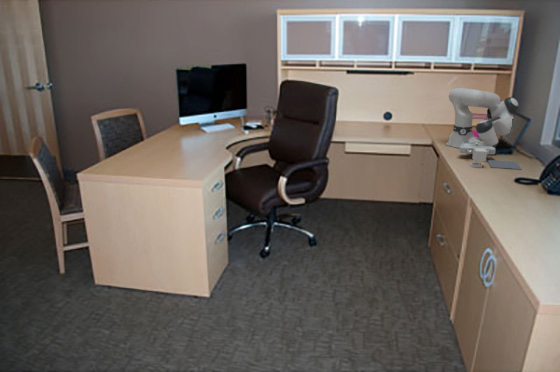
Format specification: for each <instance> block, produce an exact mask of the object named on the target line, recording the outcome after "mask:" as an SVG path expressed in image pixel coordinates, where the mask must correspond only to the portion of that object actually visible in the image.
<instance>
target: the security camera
mask: <svg viewBox="0 0 560 372" xmlns="http://www.w3.org/2000/svg"><path fill="white" fill-rule="evenodd" d="M471 158H472V160H473V161H474V162H470V163H469V164H470V167H471V168H483V165H482V163H481V162H486V161H487V150H486V149H479V148H474V150H473V154H472V157H471Z"/></svg>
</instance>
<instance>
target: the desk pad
mask: <svg viewBox="0 0 560 372" xmlns="http://www.w3.org/2000/svg"><path fill="white" fill-rule="evenodd" d="M486 161H487V163H488V165H489V167H490V168H491V169H503V170H520V171H522V168H521V166H520V164H519V163H518V162H517V161H511V160H494V159H486Z"/></svg>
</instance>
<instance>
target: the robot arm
mask: <svg viewBox="0 0 560 372" xmlns="http://www.w3.org/2000/svg"><path fill="white" fill-rule="evenodd" d="M448 99H449V102H450V103H452V104H451V105H453V108H454V114H455V115H454V117H455V118H454V125H453V127H452V129H453V130H452V132H451V133H450V134H449V136H448V141H447V142H446V144H445V145H446V146H449V147H452V148H457V149H458V148H459V153H460V154H468V155H473V150H474V148H479V149H486V150H487V155H496V147H497V146H498V144H499V139H498V136H501V137H503V136H507V135H508V134H510V132H511V131H512V130H511V127H512V119H513V118H515V117H514V115H516V114H517V112H518V109H519V106H520V104H519V102H518V100H517V99H516V98H514V97H512V96H509V97H507V98H505V99H503V100H502V101H501V97H500V96H499V95H498V94H497V93H495V92H491V91H487V90H480V89H474V88H466V87H456V88H452V89H451V90H450V92H449V94H448ZM469 107H473V108H482V109H487V110H486V114H487V116H486V117H487V120H484V119H483V120H482V121H479V122H477V124H476V125H475V131H477V132H478V135H479V138H478V137H474V135H473V134H472V130H473V120H474V119H473V117H474V116H473V114H472V113H473V112H472V111H471V110H470V108H469ZM510 130H511V131H510Z"/></svg>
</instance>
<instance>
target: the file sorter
mask: <svg viewBox="0 0 560 372" xmlns="http://www.w3.org/2000/svg"><path fill="white" fill-rule="evenodd" d="M472 114H473V120H483V121H484V120H488V118H487V113H476V112H475V113H473V112H472ZM472 134H473V135H474V137H478V138H479V135H478V132H477V130H476V129H474V130H473V129H472Z"/></svg>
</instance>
